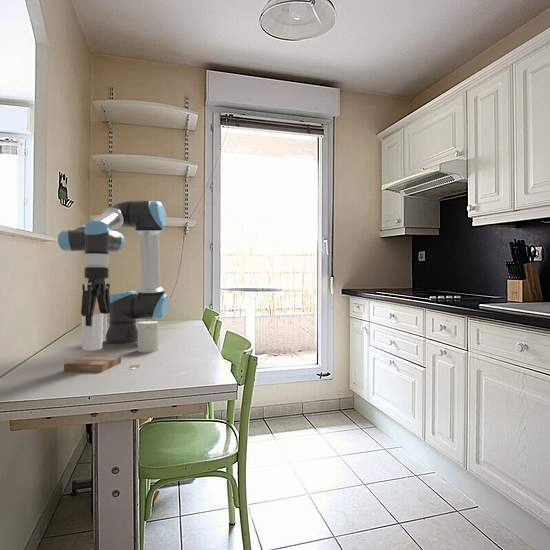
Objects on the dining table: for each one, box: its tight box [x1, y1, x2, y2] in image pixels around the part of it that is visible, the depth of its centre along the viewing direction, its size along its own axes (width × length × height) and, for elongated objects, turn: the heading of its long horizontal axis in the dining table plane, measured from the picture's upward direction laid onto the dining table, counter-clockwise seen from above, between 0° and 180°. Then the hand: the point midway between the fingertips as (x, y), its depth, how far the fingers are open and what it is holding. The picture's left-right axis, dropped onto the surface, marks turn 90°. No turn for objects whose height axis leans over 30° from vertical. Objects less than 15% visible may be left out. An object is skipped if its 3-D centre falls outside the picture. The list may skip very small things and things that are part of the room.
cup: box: [137, 320, 160, 353], centre depth 170 cm, size 8×8×12 cm
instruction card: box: [119, 364, 141, 372], centre depth 140 cm, size 10×7×1 cm
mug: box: [81, 312, 104, 351], centre depth 142 cm, size 10×7×12 cm, turn 21°
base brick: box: [63, 355, 122, 373], centre depth 141 cm, size 13×13×3 cm
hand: (96, 333), depth 141 cm, fingers closed on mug, 7 cm apart
